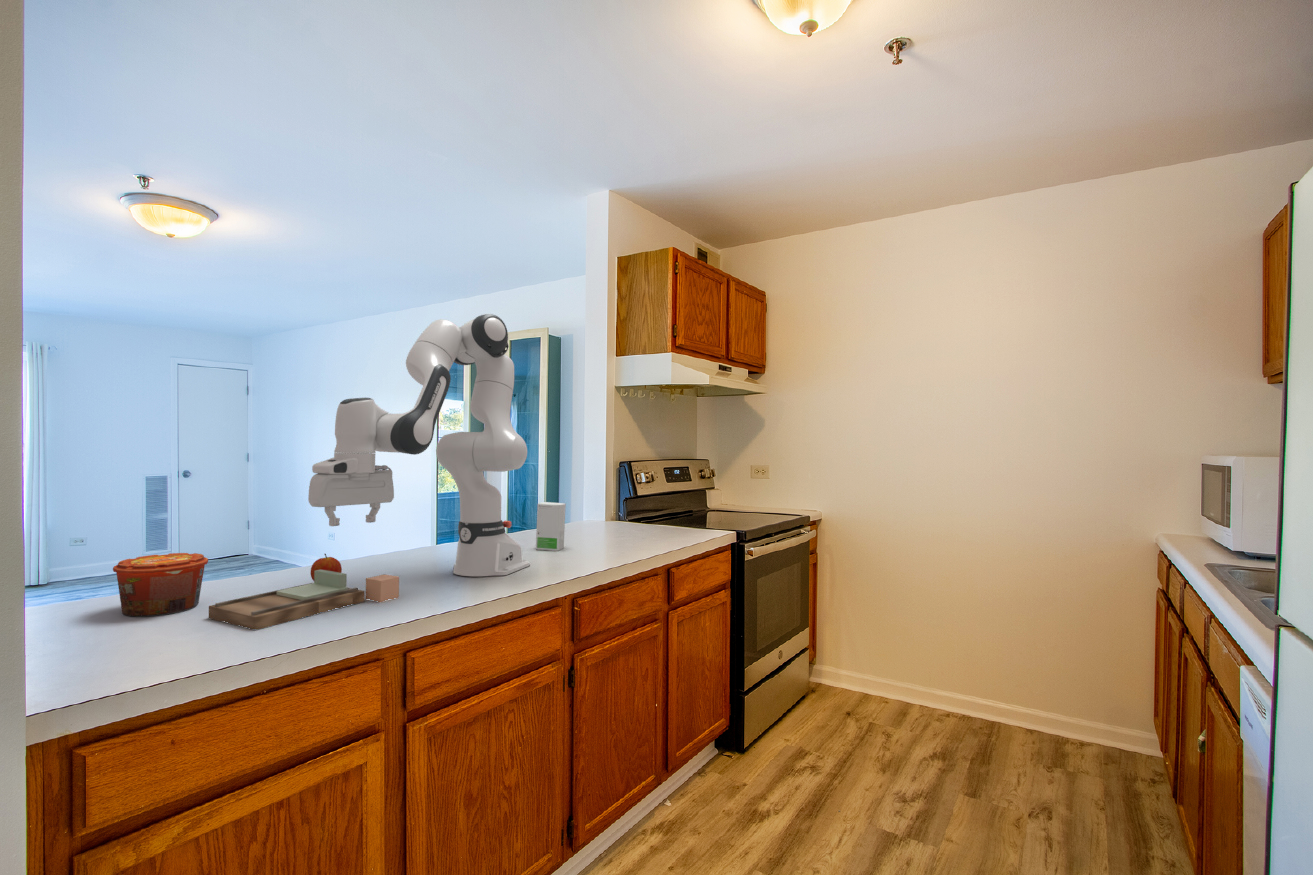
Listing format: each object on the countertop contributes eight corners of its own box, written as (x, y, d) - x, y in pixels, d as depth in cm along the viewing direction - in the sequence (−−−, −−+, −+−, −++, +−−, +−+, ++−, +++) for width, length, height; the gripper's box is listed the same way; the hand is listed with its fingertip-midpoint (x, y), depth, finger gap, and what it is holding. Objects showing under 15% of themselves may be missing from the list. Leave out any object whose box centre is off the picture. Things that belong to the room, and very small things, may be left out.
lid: (319, 585, 145) (319, 569, 145) (347, 590, 141) (348, 573, 141) (276, 594, 136) (276, 577, 136) (305, 600, 132) (305, 582, 132)
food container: (178, 596, 144) (179, 549, 144) (224, 604, 138) (224, 555, 138) (94, 613, 129) (95, 562, 129) (141, 623, 123) (142, 569, 123)
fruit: (339, 580, 161) (340, 549, 161) (343, 586, 155) (343, 554, 155) (309, 583, 157) (309, 552, 157) (311, 589, 152) (311, 556, 152)
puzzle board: (319, 592, 148) (319, 579, 148) (364, 601, 141) (364, 588, 141) (208, 618, 127) (208, 602, 127) (255, 630, 120) (255, 614, 120)
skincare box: (535, 550, 208) (535, 503, 208) (542, 546, 215) (542, 501, 215) (559, 551, 207) (559, 504, 207) (565, 547, 214) (566, 502, 214)
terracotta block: (384, 595, 148) (384, 574, 148) (398, 598, 145) (399, 576, 145) (365, 600, 143) (365, 578, 143) (380, 602, 141) (380, 580, 141)
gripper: (383, 464, 158) (382, 519, 158) (305, 465, 140) (303, 527, 140) (400, 465, 155) (399, 521, 155) (322, 466, 137) (320, 529, 137)
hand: (352, 524), depth 147 cm, fingers open, 8 cm apart
